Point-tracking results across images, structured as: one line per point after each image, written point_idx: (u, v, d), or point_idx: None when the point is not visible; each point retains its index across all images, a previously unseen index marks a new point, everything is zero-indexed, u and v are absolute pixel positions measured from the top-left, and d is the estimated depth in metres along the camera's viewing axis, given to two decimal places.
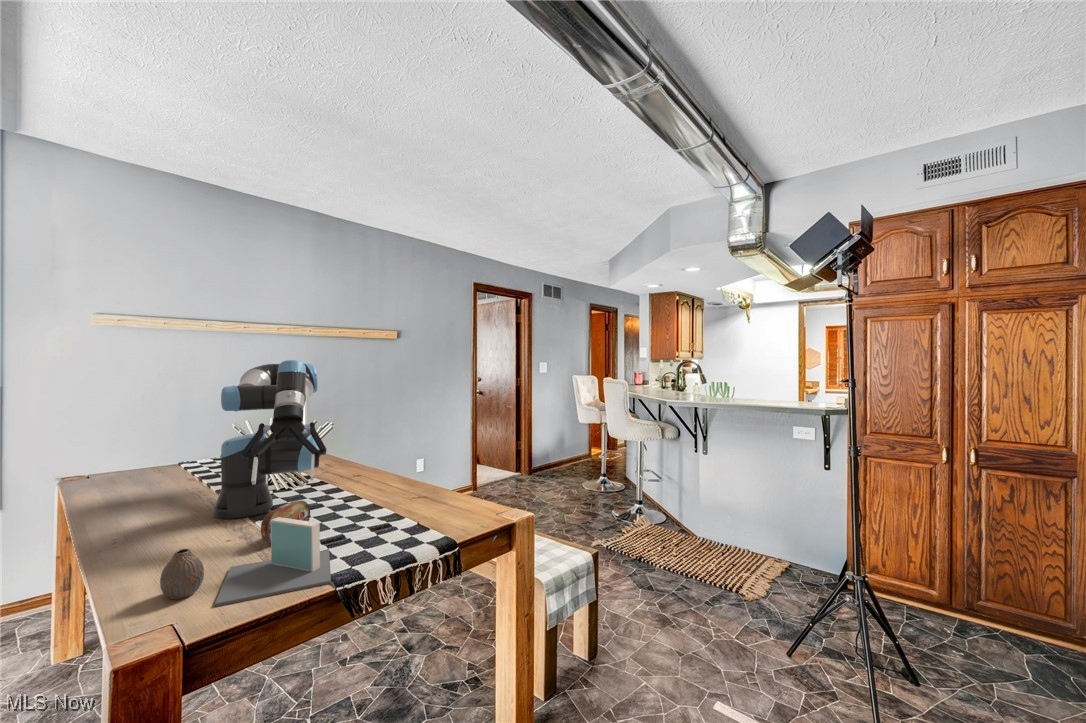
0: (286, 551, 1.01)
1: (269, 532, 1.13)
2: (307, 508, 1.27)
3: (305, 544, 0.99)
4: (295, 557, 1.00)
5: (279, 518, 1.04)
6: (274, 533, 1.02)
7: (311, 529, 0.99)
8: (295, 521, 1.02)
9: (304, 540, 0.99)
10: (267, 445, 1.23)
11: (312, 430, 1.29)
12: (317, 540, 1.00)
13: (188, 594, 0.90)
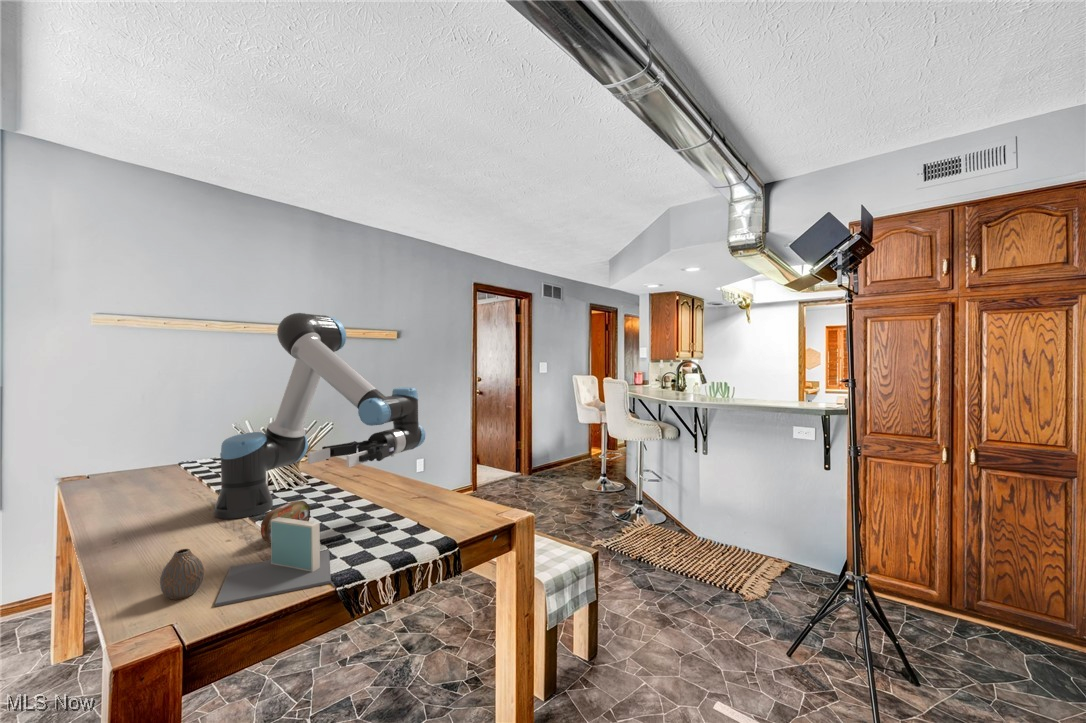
0: (286, 551, 1.01)
1: (269, 532, 1.13)
2: (307, 508, 1.27)
3: (305, 544, 0.99)
4: (295, 557, 1.00)
5: (279, 518, 1.04)
6: (274, 533, 1.02)
7: (311, 529, 0.99)
8: (295, 521, 1.02)
9: (304, 540, 0.99)
10: None
11: None
12: (317, 540, 1.00)
13: (188, 594, 0.90)
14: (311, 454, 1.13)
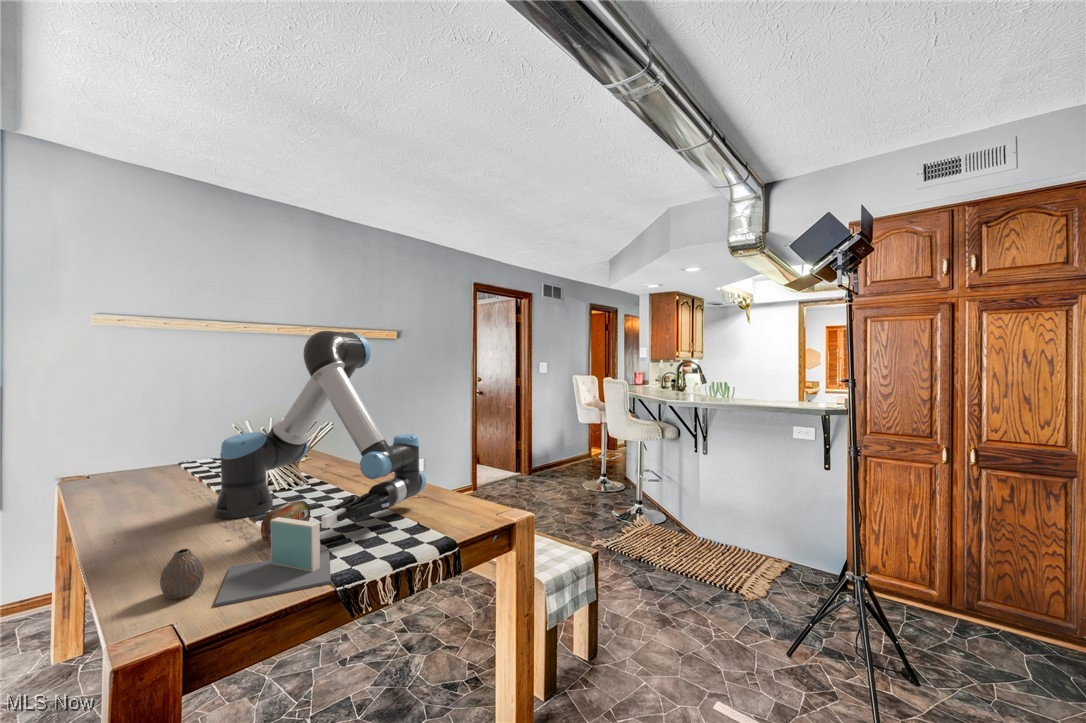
0: (286, 551, 1.01)
1: (269, 532, 1.13)
2: (307, 508, 1.27)
3: (305, 544, 0.99)
4: (295, 557, 1.00)
5: (279, 518, 1.04)
6: (274, 533, 1.02)
7: (311, 529, 0.99)
8: (295, 521, 1.02)
9: (304, 540, 0.99)
10: None
11: None
12: (317, 540, 1.00)
13: (188, 594, 0.90)
14: None
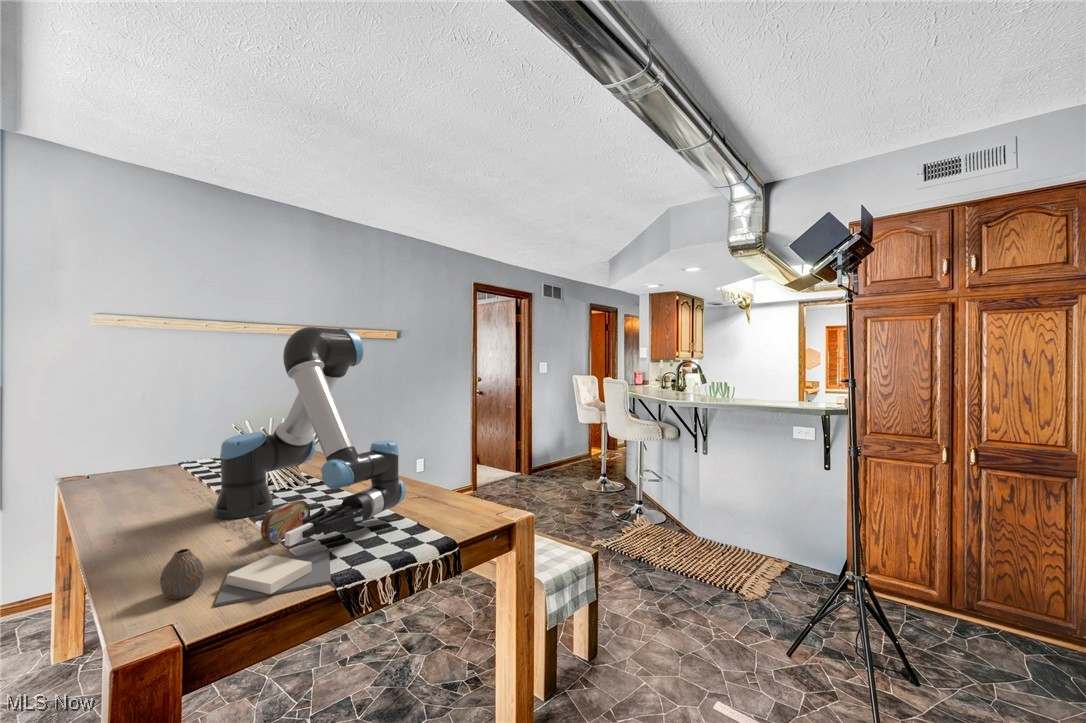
0: None
1: (269, 532, 1.13)
2: (307, 508, 1.27)
3: None
4: None
5: (230, 578, 0.93)
6: None
7: (273, 592, 0.90)
8: (248, 584, 0.91)
9: None
10: None
11: None
12: (286, 578, 0.93)
13: (188, 594, 0.90)
14: None
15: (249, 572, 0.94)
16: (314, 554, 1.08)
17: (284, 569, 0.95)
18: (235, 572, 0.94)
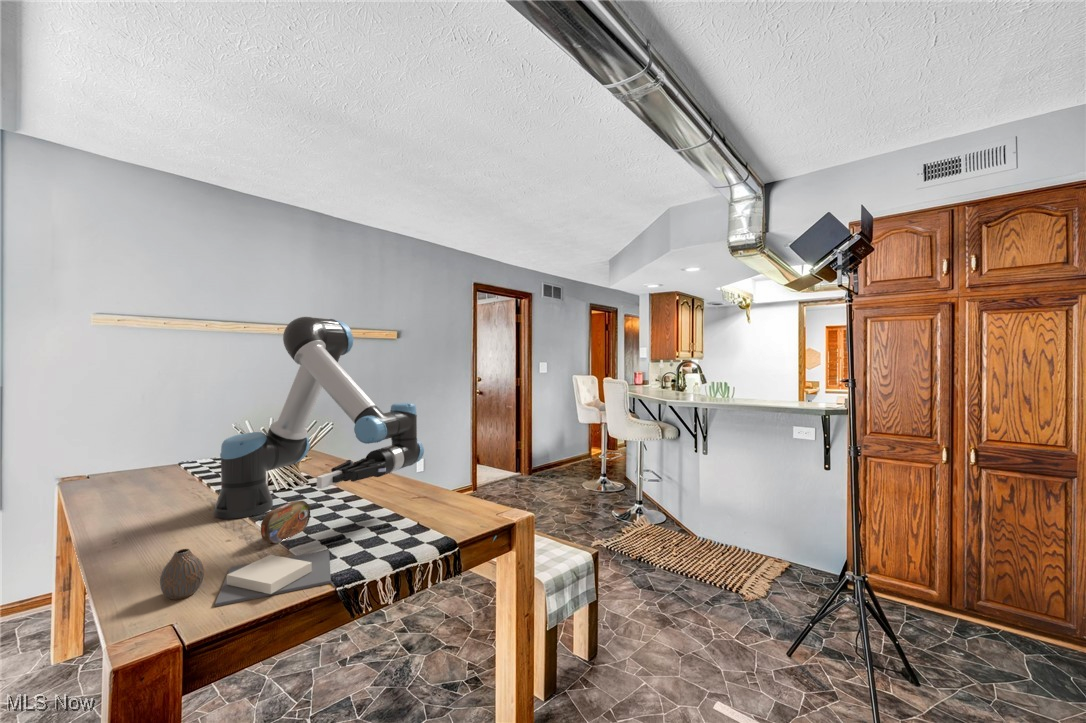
0: None
1: (269, 532, 1.13)
2: (307, 508, 1.27)
3: None
4: None
5: (230, 578, 0.93)
6: None
7: (273, 592, 0.90)
8: (248, 584, 0.91)
9: None
10: None
11: None
12: (286, 578, 0.93)
13: (188, 594, 0.90)
14: None
15: (249, 572, 0.94)
16: (314, 554, 1.08)
17: (284, 569, 0.95)
18: (235, 572, 0.94)
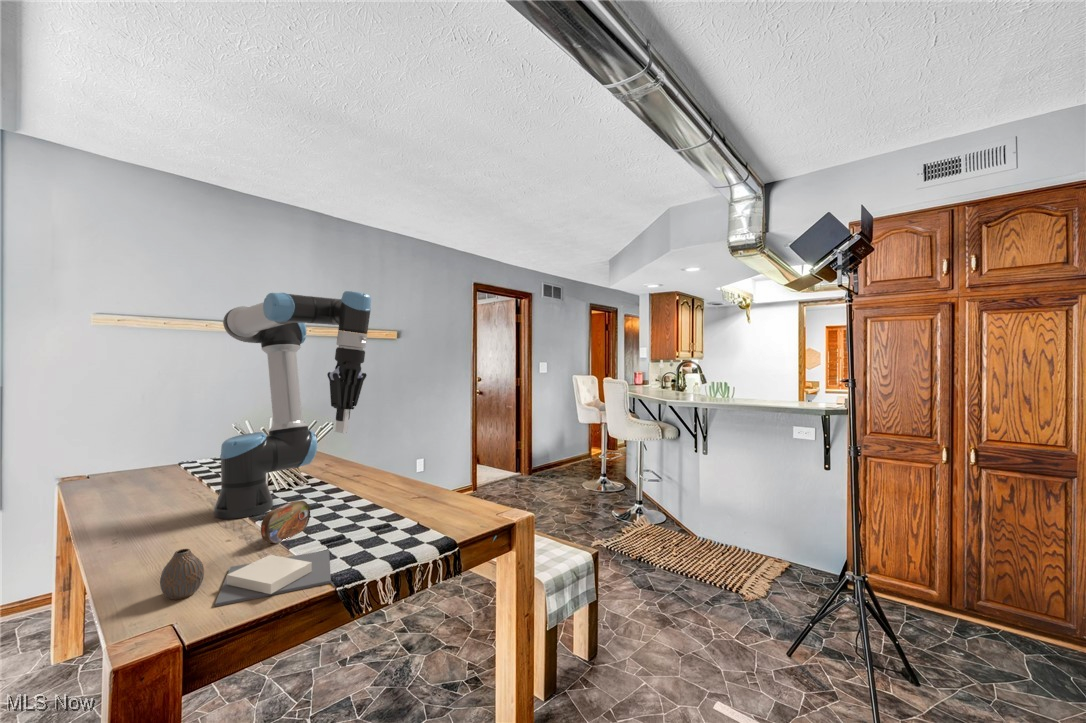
0: None
1: (269, 532, 1.13)
2: (307, 508, 1.27)
3: None
4: None
5: (230, 578, 0.93)
6: None
7: (273, 592, 0.90)
8: (248, 584, 0.91)
9: None
10: None
11: (361, 381, 1.30)
12: (286, 578, 0.93)
13: (188, 594, 0.90)
14: None
15: (249, 572, 0.94)
16: (314, 554, 1.08)
17: (284, 569, 0.95)
18: (235, 572, 0.94)
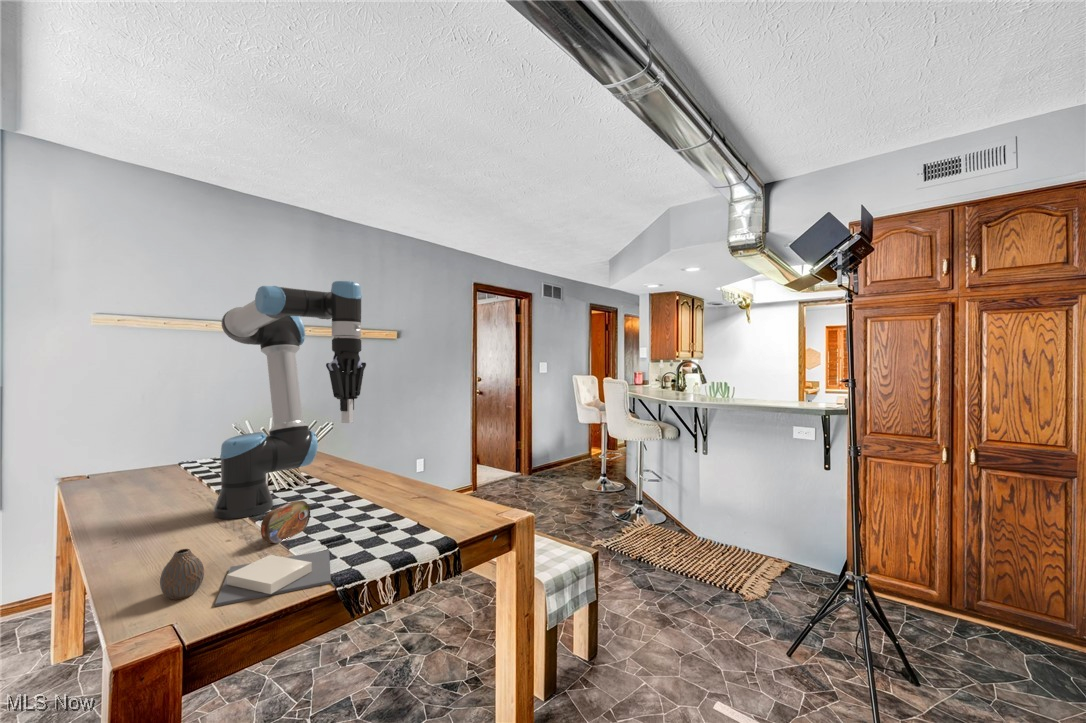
0: None
1: (269, 532, 1.13)
2: (307, 508, 1.27)
3: None
4: None
5: (230, 578, 0.93)
6: None
7: (273, 592, 0.90)
8: (248, 584, 0.91)
9: None
10: None
11: (361, 370, 1.29)
12: (286, 578, 0.93)
13: (188, 594, 0.90)
14: None
15: (249, 572, 0.94)
16: (314, 554, 1.08)
17: (284, 569, 0.95)
18: (235, 572, 0.94)
